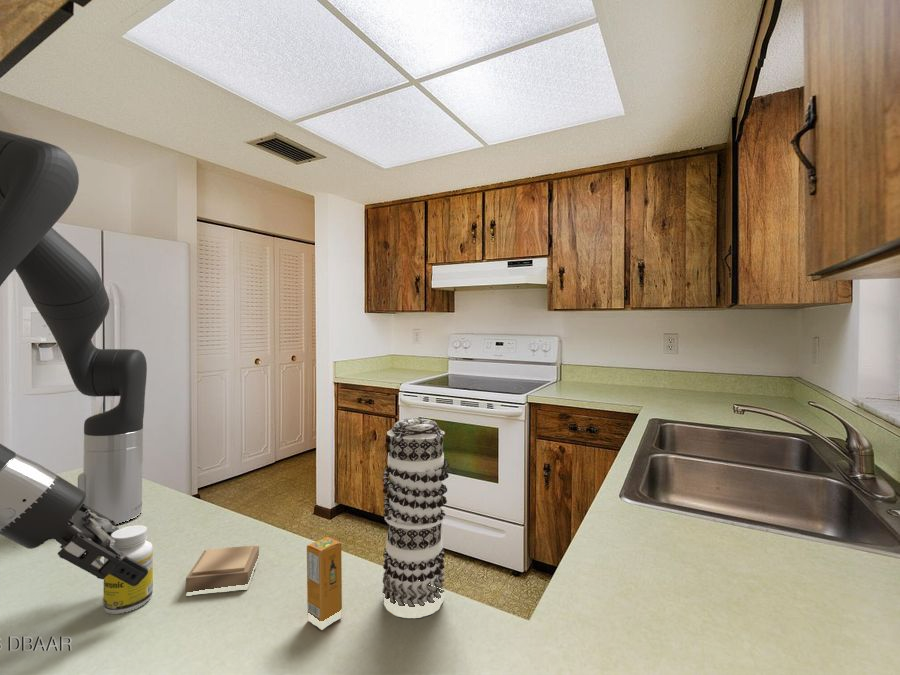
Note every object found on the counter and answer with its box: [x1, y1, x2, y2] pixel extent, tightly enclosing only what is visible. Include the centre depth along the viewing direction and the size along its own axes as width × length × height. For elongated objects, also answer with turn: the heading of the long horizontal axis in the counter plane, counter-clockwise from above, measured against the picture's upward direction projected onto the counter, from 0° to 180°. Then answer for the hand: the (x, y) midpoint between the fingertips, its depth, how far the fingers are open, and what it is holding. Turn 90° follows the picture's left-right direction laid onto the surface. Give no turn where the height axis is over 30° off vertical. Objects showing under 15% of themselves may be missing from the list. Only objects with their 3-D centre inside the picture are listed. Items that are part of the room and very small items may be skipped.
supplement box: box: [306, 536, 343, 621], centre depth 56 cm, size 3×3×10 cm
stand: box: [185, 545, 260, 593], centre depth 66 cm, size 8×8×3 cm
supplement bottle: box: [102, 524, 154, 615], centre depth 59 cm, size 5×5×10 cm
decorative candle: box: [382, 417, 450, 607], centre depth 61 cm, size 9×9×25 cm
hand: (139, 564), depth 60 cm, fingers open, 8 cm apart
